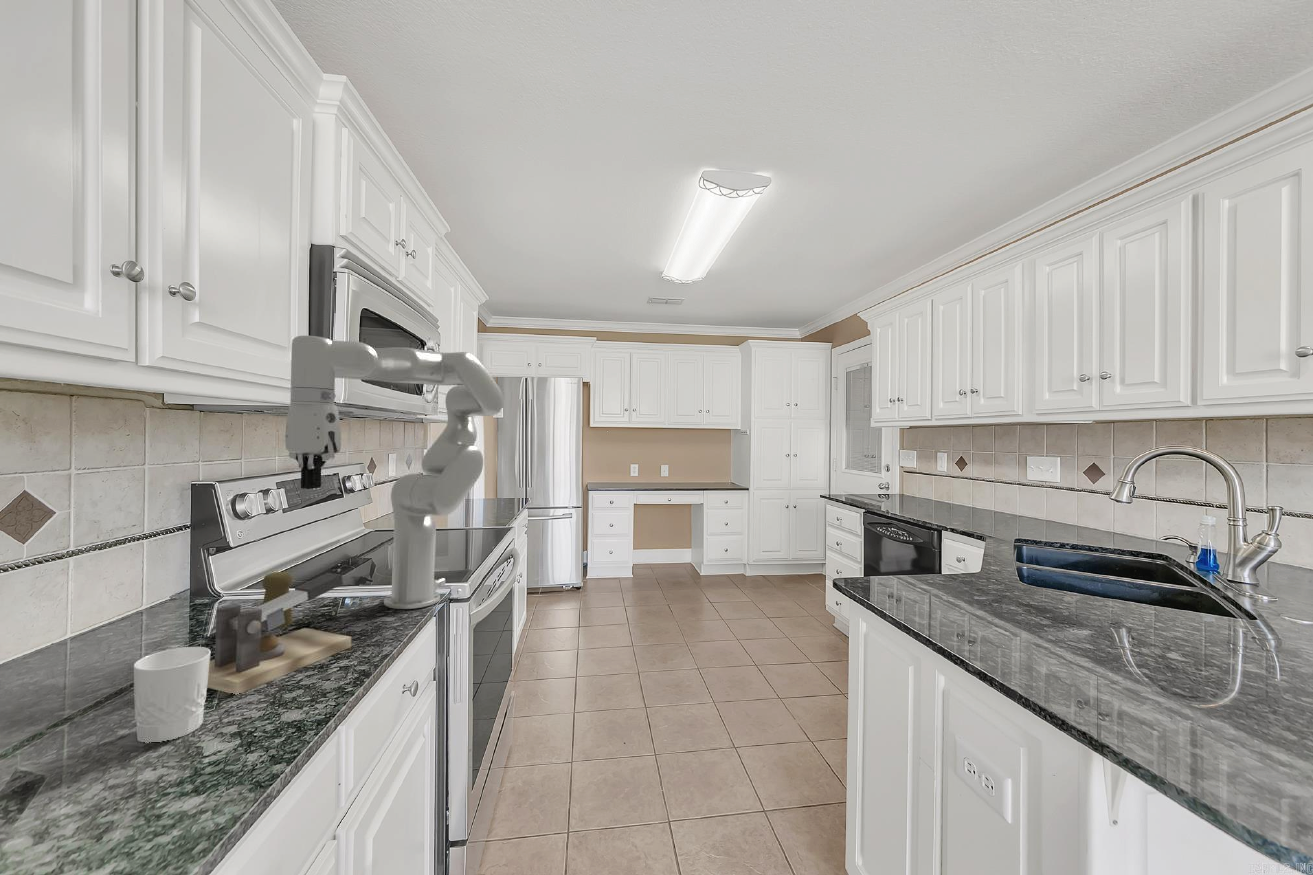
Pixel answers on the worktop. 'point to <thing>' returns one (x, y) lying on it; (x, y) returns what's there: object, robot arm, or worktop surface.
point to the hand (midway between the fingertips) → (310, 487)
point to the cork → (278, 591)
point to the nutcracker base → (263, 651)
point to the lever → (293, 600)
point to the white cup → (170, 693)
